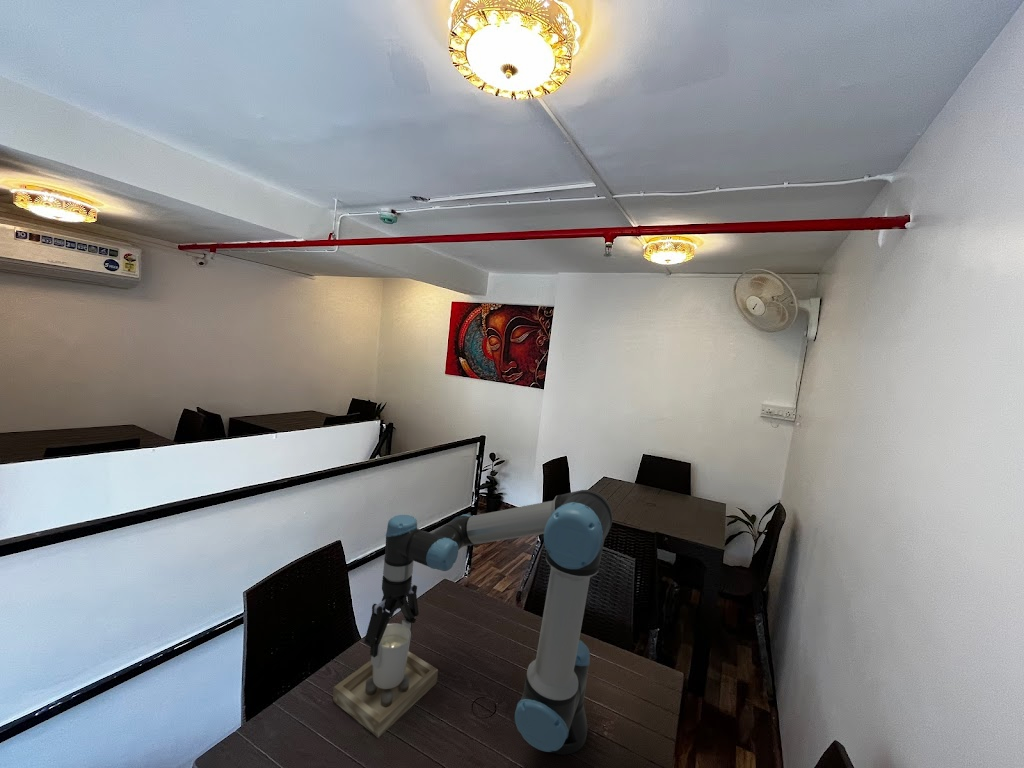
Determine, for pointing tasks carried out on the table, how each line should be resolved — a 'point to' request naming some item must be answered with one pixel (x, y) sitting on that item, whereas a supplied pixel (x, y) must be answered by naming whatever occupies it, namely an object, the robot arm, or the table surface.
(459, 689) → the table surface
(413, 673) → the peg frame
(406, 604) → the robot arm
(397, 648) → the candle holder
